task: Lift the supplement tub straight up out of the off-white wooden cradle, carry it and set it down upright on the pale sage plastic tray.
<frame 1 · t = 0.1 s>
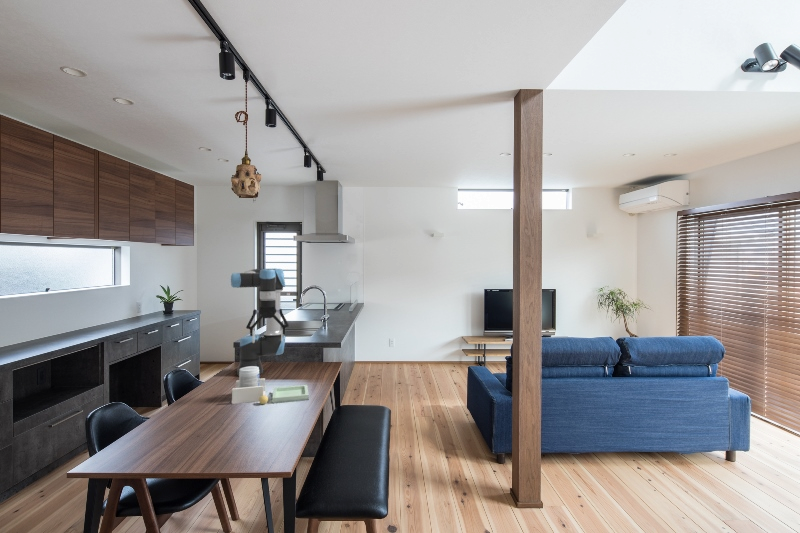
hand: (267, 341, 195), 28 cm above the table, fingers open, 13 cm apart
cradle: (249, 397, 195), on the table
supplement tub: (249, 397, 195), resting in cradle
tray: (290, 396, 196), on the table
ochre ball: (260, 401, 186), point 1 cm above the table, tilted 55°
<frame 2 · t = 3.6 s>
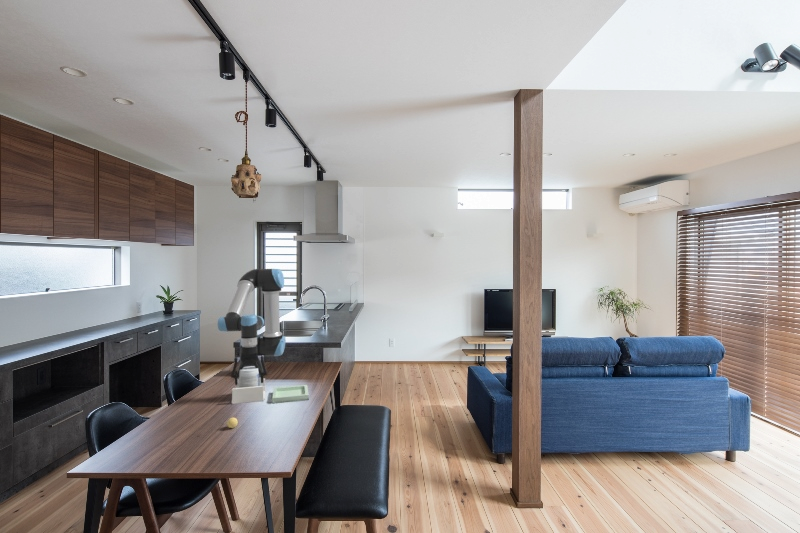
hand: (249, 390, 195), 4 cm above the table, fingers closed on supplement tub, 9 cm apart
supplement tub: (249, 397, 195), resting in cradle, touching gripper
ochre ball: (230, 422, 159), point 2 cm above the table, tilted 83°
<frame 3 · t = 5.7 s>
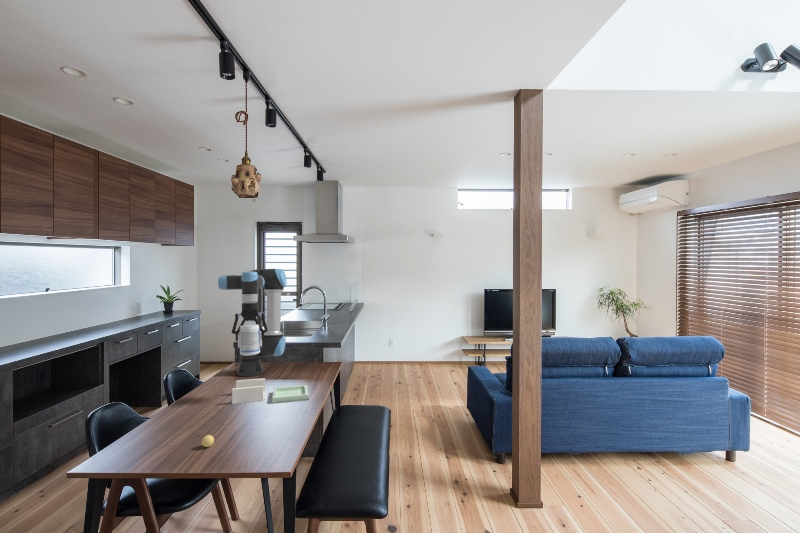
hand: (250, 346, 195), 26 cm above the table, fingers closed on supplement tub, 9 cm apart
supplement tub: (250, 354, 195), point 22 cm above the table, touching gripper
ochre ball: (203, 438, 141), point 3 cm above the table, tilted 123°
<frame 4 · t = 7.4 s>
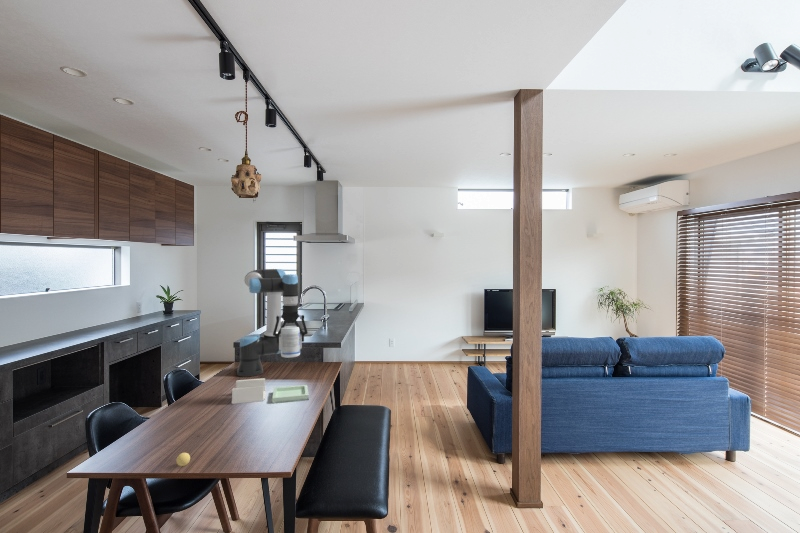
hand: (290, 348, 196), 24 cm above the table, fingers closed on supplement tub, 9 cm apart
supplement tub: (290, 356, 196), point 20 cm above the table, touching gripper
ochre ball: (177, 457, 127), point 3 cm above the table, tilted 114°
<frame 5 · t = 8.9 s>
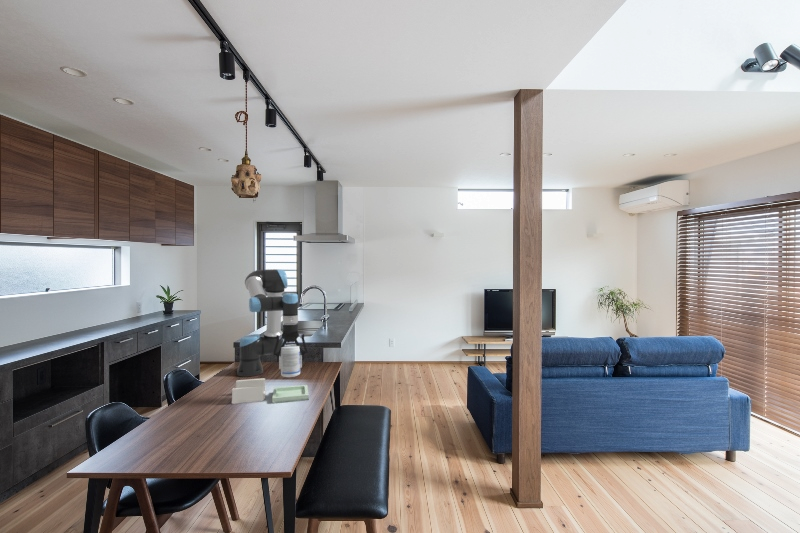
hand: (290, 367, 196), 14 cm above the table, fingers closed on supplement tub, 9 cm apart
supplement tub: (290, 375, 196), point 11 cm above the table, touching gripper
when the fingers open (6 cm above the table, at t = 11.4 s): supplement tub drops 2 cm, resting on tray.
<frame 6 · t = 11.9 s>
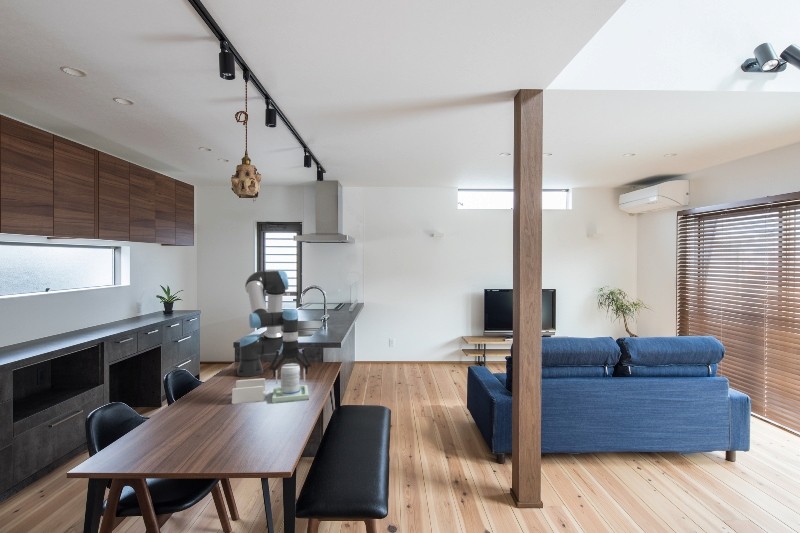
hand: (290, 381, 196), 7 cm above the table, fingers open, 13 cm apart
supplement tub: (290, 394, 196), point 1 cm above the table, touching tray
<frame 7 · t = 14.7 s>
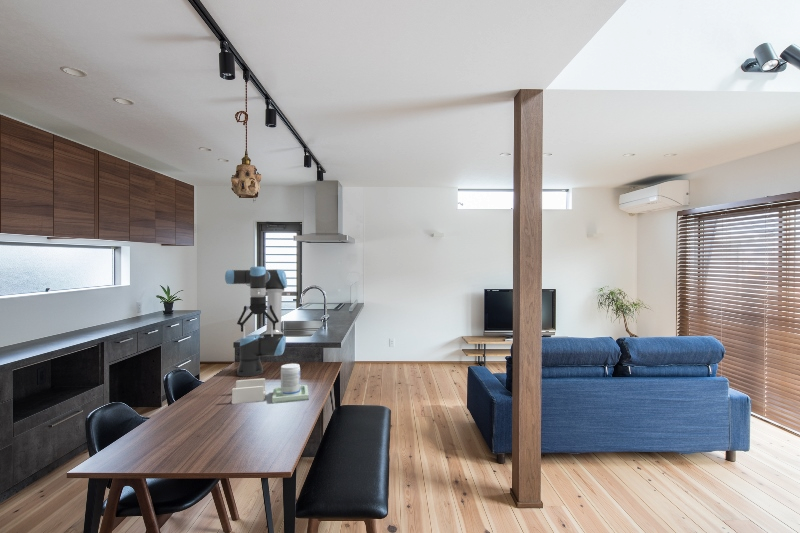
hand: (258, 337, 201), 29 cm above the table, fingers open, 13 cm apart
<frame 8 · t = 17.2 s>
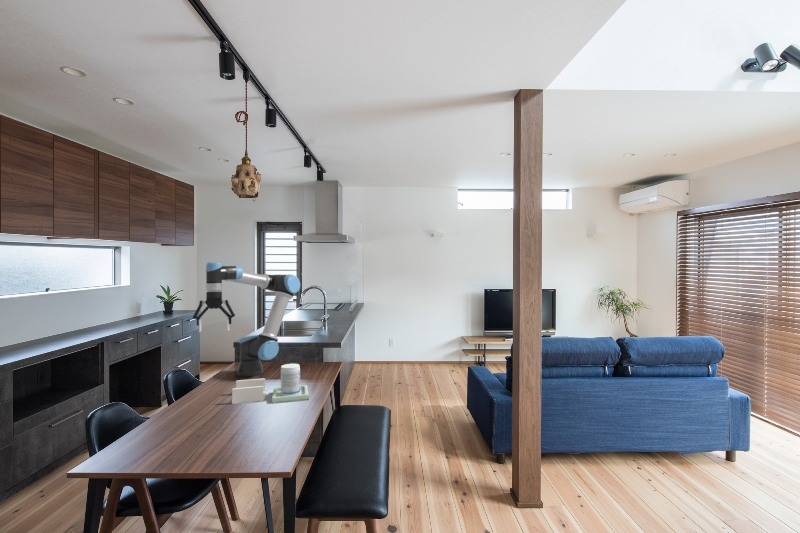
hand: (214, 331, 206), 32 cm above the table, fingers open, 13 cm apart
at the end: supplement tub inside the target area on the tray (0.0 cm from its centre), point 0.6 cm above the tray's base; supplement tub tilted 0°; the gripper is holding nothing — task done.
